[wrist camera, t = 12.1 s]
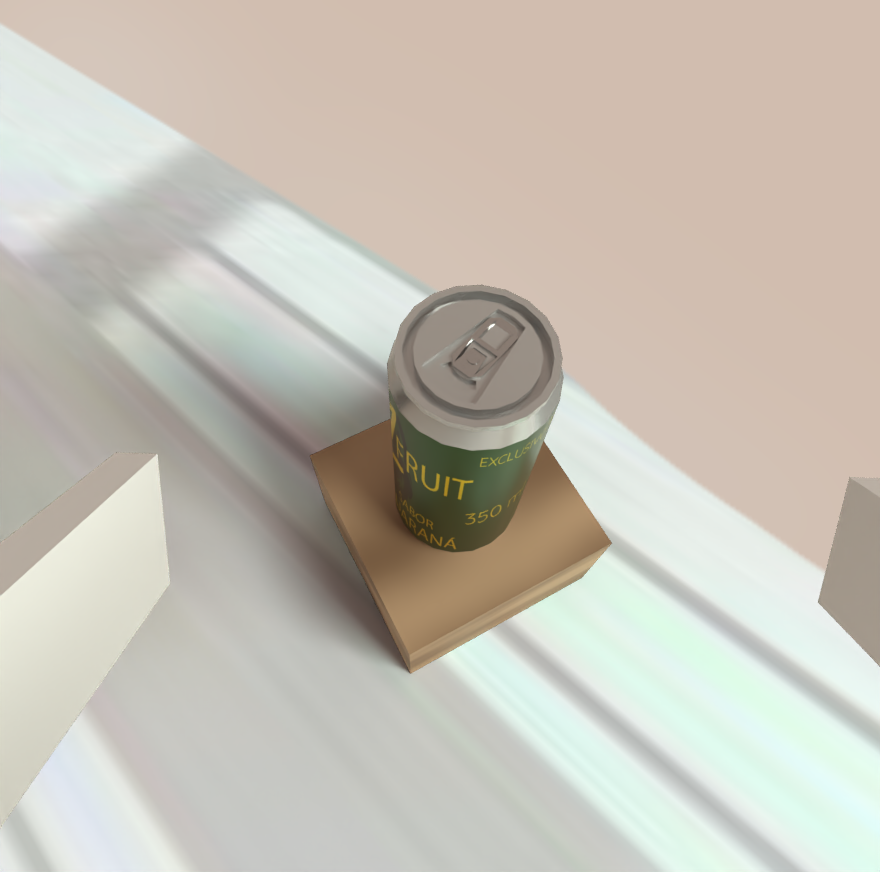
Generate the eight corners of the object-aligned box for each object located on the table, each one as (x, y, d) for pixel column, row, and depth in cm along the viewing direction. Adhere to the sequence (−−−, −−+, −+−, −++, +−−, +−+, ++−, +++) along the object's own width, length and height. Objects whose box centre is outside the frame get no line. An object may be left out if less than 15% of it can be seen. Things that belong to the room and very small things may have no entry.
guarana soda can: (446, 423, 32) (464, 250, 21) (538, 492, 31) (606, 345, 20) (370, 505, 30) (346, 360, 19) (464, 583, 29) (494, 472, 18)
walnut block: (325, 501, 37) (309, 455, 31) (485, 425, 39) (496, 370, 34) (410, 673, 33) (409, 654, 27) (581, 577, 35) (611, 543, 30)
